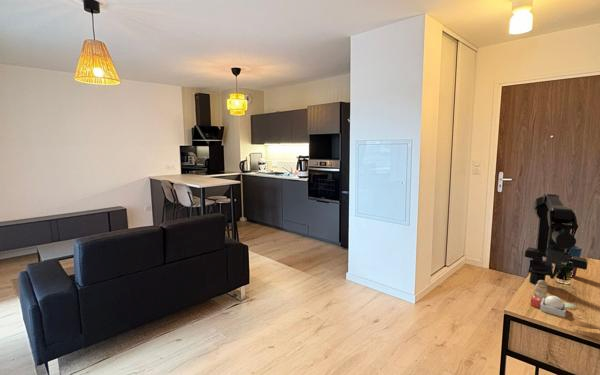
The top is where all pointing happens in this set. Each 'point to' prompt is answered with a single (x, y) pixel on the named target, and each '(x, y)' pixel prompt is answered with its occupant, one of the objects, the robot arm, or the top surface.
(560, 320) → the top surface
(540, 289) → the pawn
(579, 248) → the cup
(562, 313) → the game board
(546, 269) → the robot arm
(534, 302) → the red die
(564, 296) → the top surface
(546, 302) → the white ball
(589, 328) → the top surface
